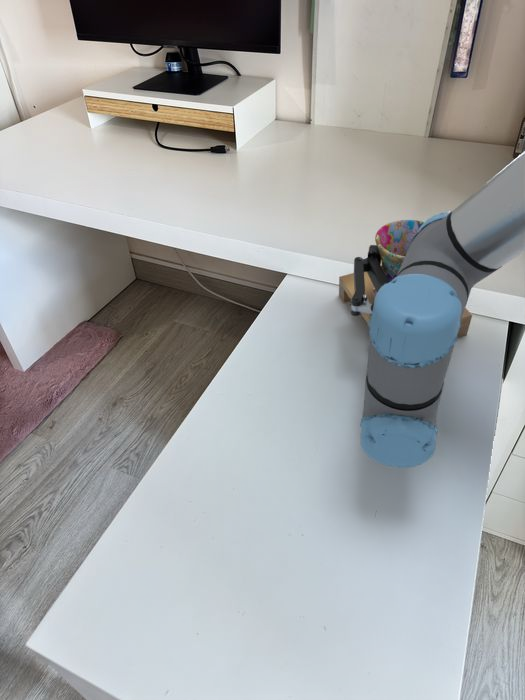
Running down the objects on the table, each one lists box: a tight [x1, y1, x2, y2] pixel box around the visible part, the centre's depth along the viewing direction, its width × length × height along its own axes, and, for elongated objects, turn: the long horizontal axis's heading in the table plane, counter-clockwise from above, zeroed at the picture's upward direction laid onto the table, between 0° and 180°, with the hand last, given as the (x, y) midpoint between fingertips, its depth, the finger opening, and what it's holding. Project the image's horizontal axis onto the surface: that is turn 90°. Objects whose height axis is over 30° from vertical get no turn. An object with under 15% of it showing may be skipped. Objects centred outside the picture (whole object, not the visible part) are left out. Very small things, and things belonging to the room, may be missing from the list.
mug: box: [373, 219, 425, 298], centre depth 73 cm, size 12×9×11 cm
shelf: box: [338, 264, 473, 338], centre depth 79 cm, size 16×14×4 cm
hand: (408, 237), depth 76 cm, fingers closed on mug, 7 cm apart
